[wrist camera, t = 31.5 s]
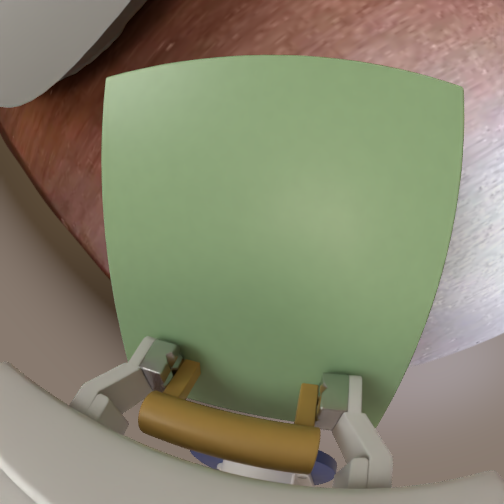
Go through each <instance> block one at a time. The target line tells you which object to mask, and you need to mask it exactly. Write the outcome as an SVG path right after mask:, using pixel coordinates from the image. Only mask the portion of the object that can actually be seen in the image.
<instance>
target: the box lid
mask: <svg viewBox="0 0 504 504" xmlns="http://www.w3.org/2000/svg"><path fill="white" fill-rule="evenodd" d="M463 141H464V89H463V88H462V87H461V86H458V85H455V84H452V83H449V82H446V81H443V80H439V79H436V78H433V77H429V76H426V75H422V74H418V73H414V72H410V71H406V70H402V69H397V68H393V67H388V66H383V65H377V64H372V63H366V62H359V61H352V60H344V59H336V58H326V57H314V56H296V55H245V56H227V57H215V58H205V59H196V60H188V61H181V62H175V63H169V64H163V65H157V66H152V67H147V68H142V69H138V70H134V71H129V72H125V73H121V74H117V75H114V76H110V77H107V78H106V83H105V93H104V106H103V122H102V195H103V212H104V225H105V236H106V245H107V254H108V262H109V269H110V276H111V283H112V289H113V295H114V300H115V306H116V311H117V316H118V321H119V325H120V330H121V334H122V339H123V343H124V347H125V351H126V355H127V359H128V362H129V360H130V359H131V357H132V356H133V354H134V352H135V351H136V349H137V348H138V346H139V345H140V343H141V342H142V340H143V339H144V338H145V337H146V336H150V337H153V338H157V339H160V340H163V341H167V342H170V343H174V344H177V345H180V347H181V352H180V354H181V355H182V356H183V357H184V362H183V364H182V365H181V367H180V368H179V370H178V371H177V372H176V374H175V375H174V377H173V378H172V380H171V381H170V382H169V384H168V385H167V387H166V388H165V390H164V391H163V393H162V392H159V391H152V392H150V393H149V394H148V395H147V396H146V398H145V399H144V401H143V403H142V405H141V408H140V411H139V417H138V423H139V428H140V430H141V431H142V432H143V433H145V434H148V435H150V436H153V437H155V438H158V439H161V440H164V441H166V442H169V443H171V444H174V445H177V446H180V447H183V448H186V449H189V450H192V451H195V452H199V453H202V454H205V455H209V456H212V457H216V458H220V459H223V460H227V461H231V462H236V463H240V464H244V465H249V466H254V467H259V468H264V469H270V470H276V471H283V472H290V473H297V474H306V475H309V474H310V473H311V472H312V470H313V467H314V465H315V461H316V458H317V454H318V449H319V443H320V428H319V427H314V426H315V416H316V406H317V393H318V386H319V383H320V382H321V377H322V374H323V372H326V373H336V374H348V375H357V376H361V377H362V413H365V414H366V415H367V417H368V418H369V420H370V422H371V423H372V425H373V426H374V428H376V427H377V425H378V424H379V422H380V420H381V418H382V417H383V415H384V413H385V411H386V410H387V408H388V406H389V404H390V402H391V400H392V398H393V397H394V395H395V393H396V391H397V388H398V387H399V385H400V383H401V381H402V378H403V376H404V374H405V372H406V370H407V368H408V366H409V363H410V361H411V359H412V357H413V354H414V352H415V350H416V347H417V345H418V342H419V340H420V337H421V335H422V332H423V330H424V327H425V324H426V322H427V319H428V316H429V313H430V310H431V307H432V304H433V301H434V298H435V295H436V292H437V289H438V285H439V282H440V278H441V275H442V271H443V268H444V264H445V260H446V256H447V252H448V248H449V243H450V239H451V234H452V229H453V224H454V219H455V213H456V207H457V201H458V194H459V186H460V178H461V169H462V157H463ZM186 398H189V399H192V400H196V401H200V402H203V403H207V404H211V405H214V406H218V407H222V408H226V409H230V410H234V411H239V412H244V413H248V414H253V415H258V416H263V417H269V418H275V419H280V420H287V421H294V424H290V423H283V422H277V421H271V420H266V419H260V418H255V417H250V416H245V415H241V414H236V413H232V412H228V411H224V410H220V409H216V408H212V407H208V406H204V405H201V404H197V403H194V402H190V401H187V400H186Z"/></svg>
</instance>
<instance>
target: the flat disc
mask: <svg viewBox="0 0 504 504" xmlns="http://www.w3.org/2000/svg"><path fill="white" fill-rule="evenodd" d="M146 1H147V0H0V107H8V108H10V107H16V106H20V105H23V104H25V103H27V102H30V101H32V100H33V99H35V98H36V97H38V96H39V95H41V94H43V93H44V92H45V91H47V90H48V89H49V88H50V87H51V86H53V85H54V84H55V83H56V82H57V81H59V80H62V79H64V78H65V77H67V76H70V75H73V74H76V73H77V72H78V71H79V70H81V69H82V68H83V67H85V66H86V65H87V64H90V63H91V62H93V61H94V60H95V59H96V58H97V57H98V56H99V55H100V54H101V53H102V52H103V51H105V50H106V49H107V48H108V47H109V46H110V45H111V44H112V42H114V41H115V40H116V39H117V38H118V37H119V36H120V35H121V33H122V32H123V30H124V27H125V25H126V24H127V22H128V21H129V20H130V19H131V18H132V17H133V16H134V15H135V14H136V12H137V11H138V10H140V8H141V7H142V6H143V5H144V4H145V2H146Z"/></svg>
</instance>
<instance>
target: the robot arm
mask: <svg viewBox="0 0 504 504" xmlns="http://www.w3.org/2000/svg"><path fill="white" fill-rule="evenodd" d="M180 352H181V347H180V345H177V344H174V343H170V342H167V341H163V340H160V339H157V338H153V337H150V336H146V337H145V338H144V339H143V340H142V342H141V343H140V345H139V346H138V348H137V349H136V351H135V352H134V354H133V356H132V357H131V359H130V360H129V362H128V363H123V364H121V365H119V366H117V367H115V368H113V369H111V370H110V371H108V372H106V373H104V374H102V375H100V376H98V377H96V378H94V379H92V380H90V381H88V382H86V383H84V384H83V385H82V387H81V388H80V390H79V391H78V393H77V394H76V396H75V397H74V399H73V401H72V402H71V403H70V405H67V404H66V403H64V402H63V401H61V400H59V399H58V398H56V397H55V396H53V395H52V394H50V393H49V392H47V391H46V390H45V389H43V388H42V387H40V386H39V385H37V384H36V383H35V382H33V381H32V380H31V379H29V378H28V377H27V376H25V375H24V374H23V373H22V372H20V371H19V370H18V369H17V368H15V367H14V366H13V365H12V364H10V363H9V362H1V363H0V504H504V480H503V478H502V477H501V476H500V475H499V474H498V473H497V472H496V471H493V470H489V471H485V472H482V473H478V474H474V475H470V476H466V477H462V478H457V479H453V480H447V481H442V482H436V483H429V484H423V485H414V486H405V487H393V488H391V485H392V484H391V483H392V468H393V456H392V454H391V453H390V451H389V450H388V448H387V447H386V445H385V443H384V442H383V440H382V439H381V437H380V436H379V434H378V432H377V431H376V429H375V428H374V426H373V425H372V423H371V422H370V420H369V418H368V417H367V415H366V414H365V413H362V377H361V376H357V375H348V374H336V373H326V372H323V374H322V377H321V382H320V383H319V386H318V393H317V406H316V416H315V426H314V427H319V428H320V429H323V430H331V431H332V433H333V435H334V438H335V440H336V442H337V444H338V446H339V448H340V450H341V452H342V454H343V457H344V459H345V461H346V463H347V465H345V466H344V467H343V468H342V469H341V470H340V471H338V472H337V473H336V474H335V475H334V481H333V487H332V488H322V487H315V485H314V482H313V479H312V476H311V473H310V474H309V475H306V474H297V473H290V472H283V471H276V470H270V469H264V468H259V467H254V466H249V465H244V464H240V463H236V462H231V461H227V460H223V463H219V464H218V465H217V469H219V470H217V469H213V468H209V467H206V466H203V465H199V464H196V463H193V462H190V461H187V460H184V459H181V458H178V457H175V456H172V455H169V454H167V453H164V452H161V451H159V450H157V449H154V448H151V447H149V446H147V445H144V444H142V443H140V442H137V441H135V440H133V439H130V438H128V437H126V436H124V433H125V431H126V429H127V427H128V425H129V423H128V421H127V420H126V419H125V417H124V416H123V415H122V414H123V413H124V412H126V411H127V410H129V409H130V408H132V407H133V406H135V405H136V404H137V403H139V402H140V401H142V400H143V399H145V398H146V396H147V395H148V394H149V393H150V392H152V391H159V392H162V393H163V391H164V390H165V388H166V387H167V385H168V384H169V382H170V381H171V380H172V378H173V377H174V375H175V374H176V372H177V371H178V370H179V368H180V367H181V365H182V364H183V362H184V357H183V356H182V355H181V354H180Z"/></svg>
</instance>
